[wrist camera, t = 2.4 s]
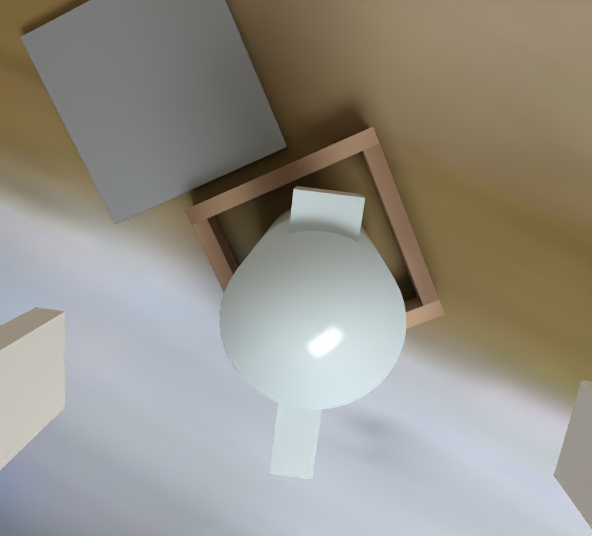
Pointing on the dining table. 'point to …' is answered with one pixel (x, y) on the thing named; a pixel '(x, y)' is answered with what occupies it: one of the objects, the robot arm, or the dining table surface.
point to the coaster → (154, 96)
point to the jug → (312, 319)
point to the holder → (364, 142)
